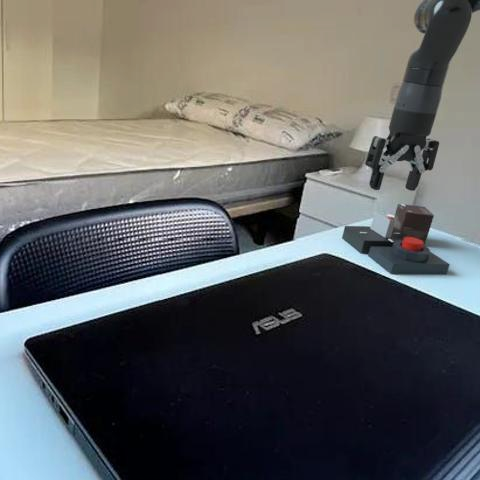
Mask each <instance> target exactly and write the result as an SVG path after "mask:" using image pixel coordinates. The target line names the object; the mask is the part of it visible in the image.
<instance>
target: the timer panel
mask: <svg viewBox="0 0 480 480" xmlns="http://www.w3.org/2000/svg"><path fill="white" fill-rule="evenodd" d="M370 228H371V224H367V226H364V225H344V228H343V231H342V232H343V233H342V236H341V239H342V240H343V241H344V242H345V243H347V244H348V245H349V246H351V248H353V249H354V250H356V251H357V252H358V253H359V254H360V255H368V254H369V250H370V247H371V246H376V247H392V246H393V243H394V242H395V241H397V240H403V239H404V238H405V237H409V236H408V235H406V234H405V233H403V232H402V231H400V230H399V229H397V228H395V227H394V228H393V231H392V235H391V238H385V237H383V236H381V235H380V234H378V233H376V232H375V231H373V230H372V229H370Z"/></svg>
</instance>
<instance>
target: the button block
mask: <svg viewBox="0 0 480 480" xmlns="http://www.w3.org/2000/svg"><path fill="white" fill-rule="evenodd" d="M402 242H403V240H397V241H395V242H394V243H393V246H392V247H376V246H371V247H370V250H369V254H367V256H368V257H369V258H370V259H371V260H372V261H373V262H374V263H376V265H378V266H379V267H381V268H382V269H383V270H384V271H386V272H387V273H389V274H390V275H447V274H448V271H449V268H450V265H451V264H450V263H449V262H447V261H446V260H444V259H442V258H441V257H440V256H438V255H436V254H435V253H433V252H432V251H431V250H430V248H429V247H428V246H426V245H425V246H424V245H423V247H422V250H421V251H412V250H408V249H406V248H403V247H402Z"/></svg>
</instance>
